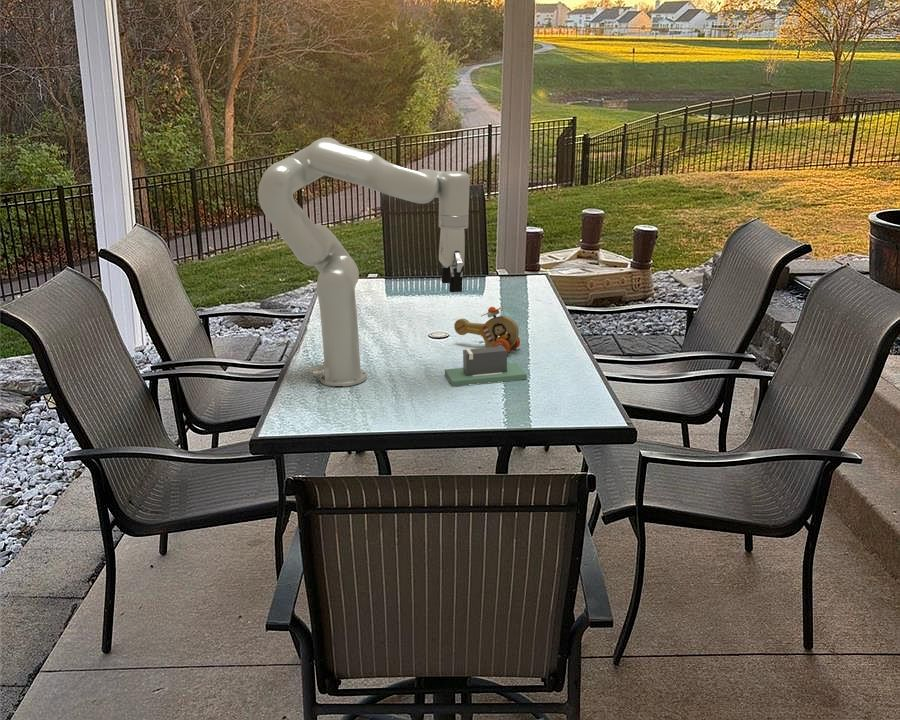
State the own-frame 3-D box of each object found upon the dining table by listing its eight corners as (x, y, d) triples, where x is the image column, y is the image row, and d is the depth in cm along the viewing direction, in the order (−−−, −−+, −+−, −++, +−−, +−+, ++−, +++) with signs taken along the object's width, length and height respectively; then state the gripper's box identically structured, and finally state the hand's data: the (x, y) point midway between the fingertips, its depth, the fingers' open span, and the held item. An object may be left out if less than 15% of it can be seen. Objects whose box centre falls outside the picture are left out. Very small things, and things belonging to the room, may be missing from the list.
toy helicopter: (511, 357, 249) (510, 311, 244) (448, 348, 259) (447, 303, 255) (524, 350, 255) (523, 304, 251) (462, 340, 266) (461, 297, 261)
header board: (452, 386, 227) (452, 366, 225) (444, 374, 236) (444, 355, 235) (526, 379, 231) (526, 359, 229) (516, 367, 240) (516, 348, 238)
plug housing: (466, 376, 230) (466, 354, 228) (463, 371, 234) (462, 349, 232) (506, 372, 232) (506, 350, 230) (503, 367, 236) (503, 345, 234)
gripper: (432, 215, 228) (431, 280, 234) (445, 227, 212) (444, 295, 218) (460, 215, 230) (458, 279, 235) (475, 227, 214) (473, 295, 219)
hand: (451, 287), depth 226 cm, fingers open, 9 cm apart
